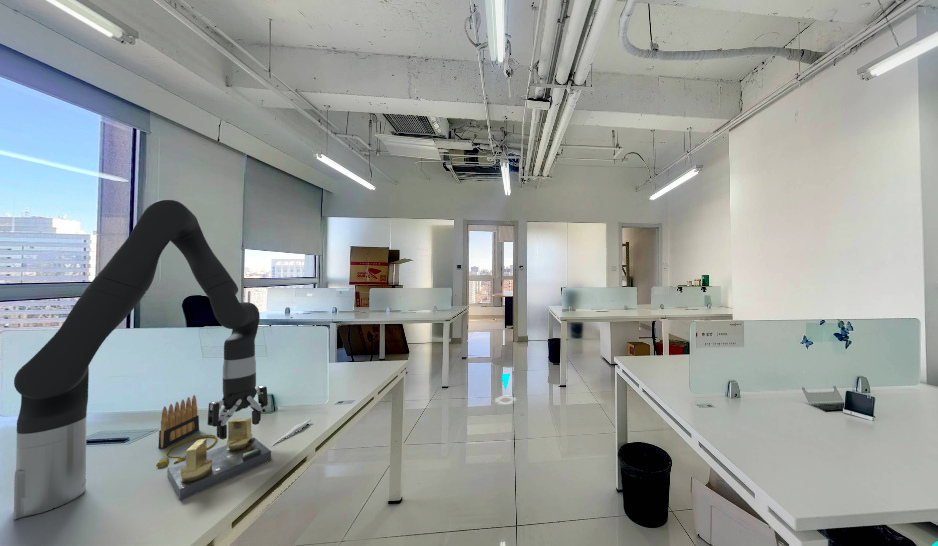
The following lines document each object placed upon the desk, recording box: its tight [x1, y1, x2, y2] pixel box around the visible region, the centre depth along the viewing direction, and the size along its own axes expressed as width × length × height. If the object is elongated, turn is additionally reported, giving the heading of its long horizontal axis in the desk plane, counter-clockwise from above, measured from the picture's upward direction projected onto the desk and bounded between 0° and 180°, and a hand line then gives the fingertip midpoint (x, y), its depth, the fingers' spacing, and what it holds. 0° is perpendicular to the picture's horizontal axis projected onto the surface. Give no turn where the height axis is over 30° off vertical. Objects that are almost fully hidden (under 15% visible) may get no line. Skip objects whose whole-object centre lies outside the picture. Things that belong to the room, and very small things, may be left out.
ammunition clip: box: [158, 394, 200, 449], centre depth 93 cm, size 11×2×12 cm, turn 176°
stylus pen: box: [271, 418, 312, 446], centre depth 95 cm, size 15×3×2 cm, turn 165°
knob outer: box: [226, 417, 256, 451], centre depth 84 cm, size 6×6×7 cm
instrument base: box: [167, 435, 272, 501], centre depth 78 cm, size 18×14×4 cm
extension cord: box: [155, 434, 218, 469], centre depth 86 cm, size 12×16×2 cm
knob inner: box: [180, 438, 212, 482], centre depth 72 cm, size 6×6×7 cm
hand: (239, 430), depth 84 cm, fingers open, 8 cm apart
